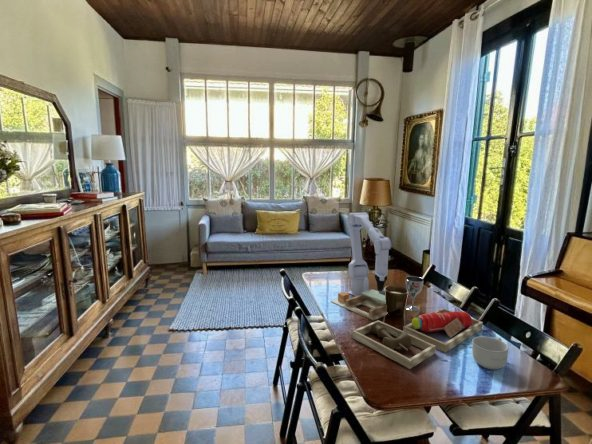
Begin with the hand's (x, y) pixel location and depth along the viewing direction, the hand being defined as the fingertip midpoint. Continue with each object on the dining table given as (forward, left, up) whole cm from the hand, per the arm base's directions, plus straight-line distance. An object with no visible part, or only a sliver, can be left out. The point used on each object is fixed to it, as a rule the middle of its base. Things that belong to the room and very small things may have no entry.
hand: (380, 290), depth 158 cm
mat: (+8, -16, -9) cm, 20 cm away
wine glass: (-14, +9, -10) cm, 19 cm away
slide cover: (-3, -3, -5) cm, 6 cm away
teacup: (+5, +52, -10) cm, 54 cm away
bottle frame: (-4, +30, -9) cm, 32 cm away
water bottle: (-3, +30, -10) cm, 32 cm away
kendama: (+23, +23, -10) cm, 34 cm away
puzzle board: (+2, -3, -9) cm, 10 cm away
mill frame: (+23, +24, -9) cm, 35 cm away
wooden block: (+8, -16, -9) cm, 20 cm away
